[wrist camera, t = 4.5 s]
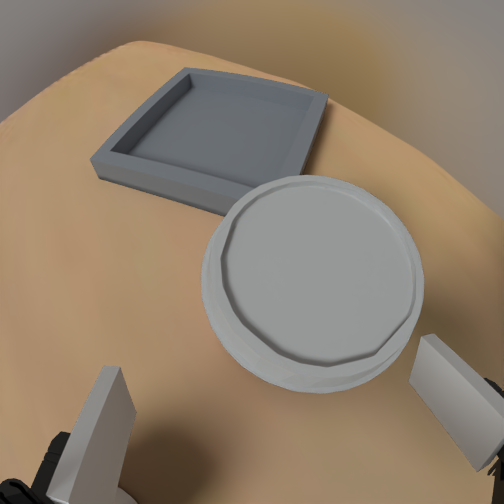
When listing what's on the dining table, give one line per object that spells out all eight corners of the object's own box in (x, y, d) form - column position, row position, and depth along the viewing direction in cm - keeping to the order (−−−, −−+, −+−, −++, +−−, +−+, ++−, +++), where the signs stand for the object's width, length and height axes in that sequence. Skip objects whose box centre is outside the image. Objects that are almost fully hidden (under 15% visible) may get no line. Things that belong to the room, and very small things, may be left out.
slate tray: (324, 113, 35) (328, 94, 32) (279, 234, 25) (284, 214, 23) (186, 84, 37) (184, 67, 35) (99, 178, 28) (89, 159, 26)
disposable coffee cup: (228, 406, 19) (210, 413, 8) (213, 282, 23) (192, 175, 13) (356, 382, 20) (459, 352, 9) (330, 268, 24) (387, 166, 14)
